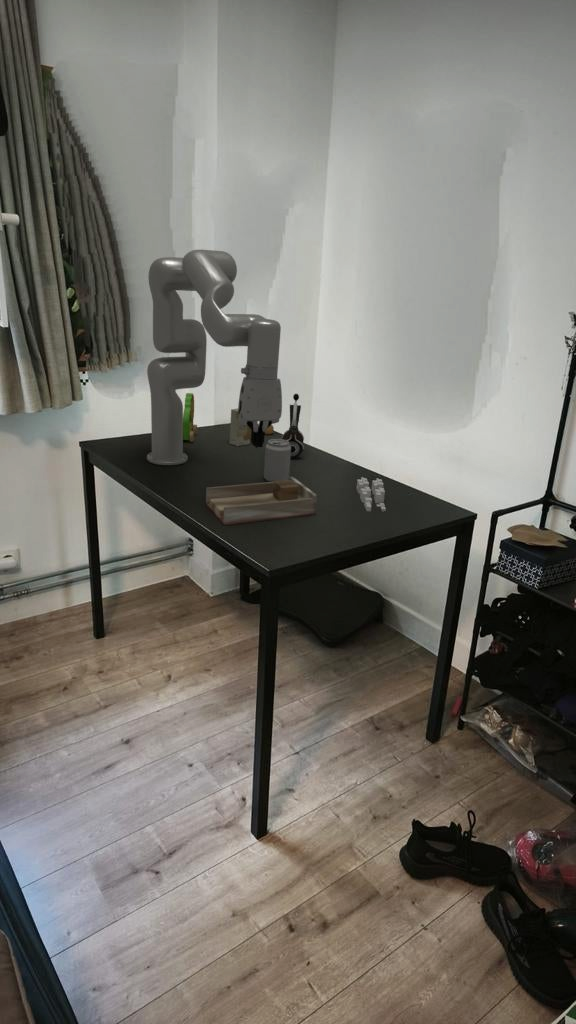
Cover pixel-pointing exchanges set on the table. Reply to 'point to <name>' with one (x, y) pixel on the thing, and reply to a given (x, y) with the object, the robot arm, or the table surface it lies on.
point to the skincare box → (238, 430)
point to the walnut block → (285, 490)
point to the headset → (294, 430)
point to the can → (277, 460)
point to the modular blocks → (366, 493)
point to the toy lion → (189, 418)
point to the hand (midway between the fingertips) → (257, 445)
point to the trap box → (257, 503)
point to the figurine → (269, 429)
